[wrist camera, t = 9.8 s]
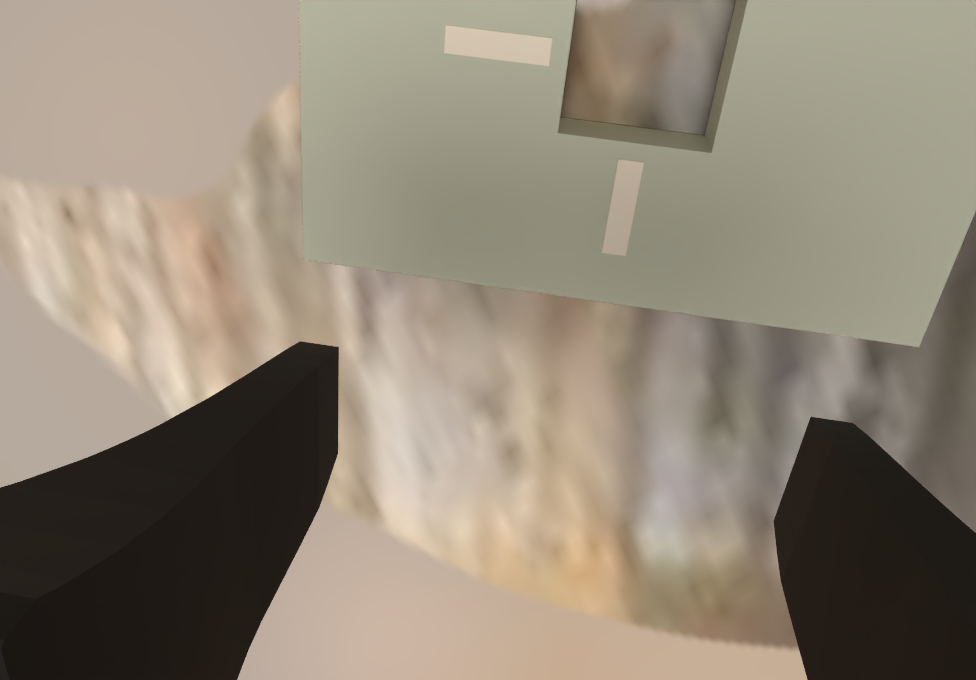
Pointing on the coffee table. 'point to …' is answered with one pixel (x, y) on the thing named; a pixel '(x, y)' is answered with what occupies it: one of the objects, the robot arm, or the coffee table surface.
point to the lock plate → (650, 161)
